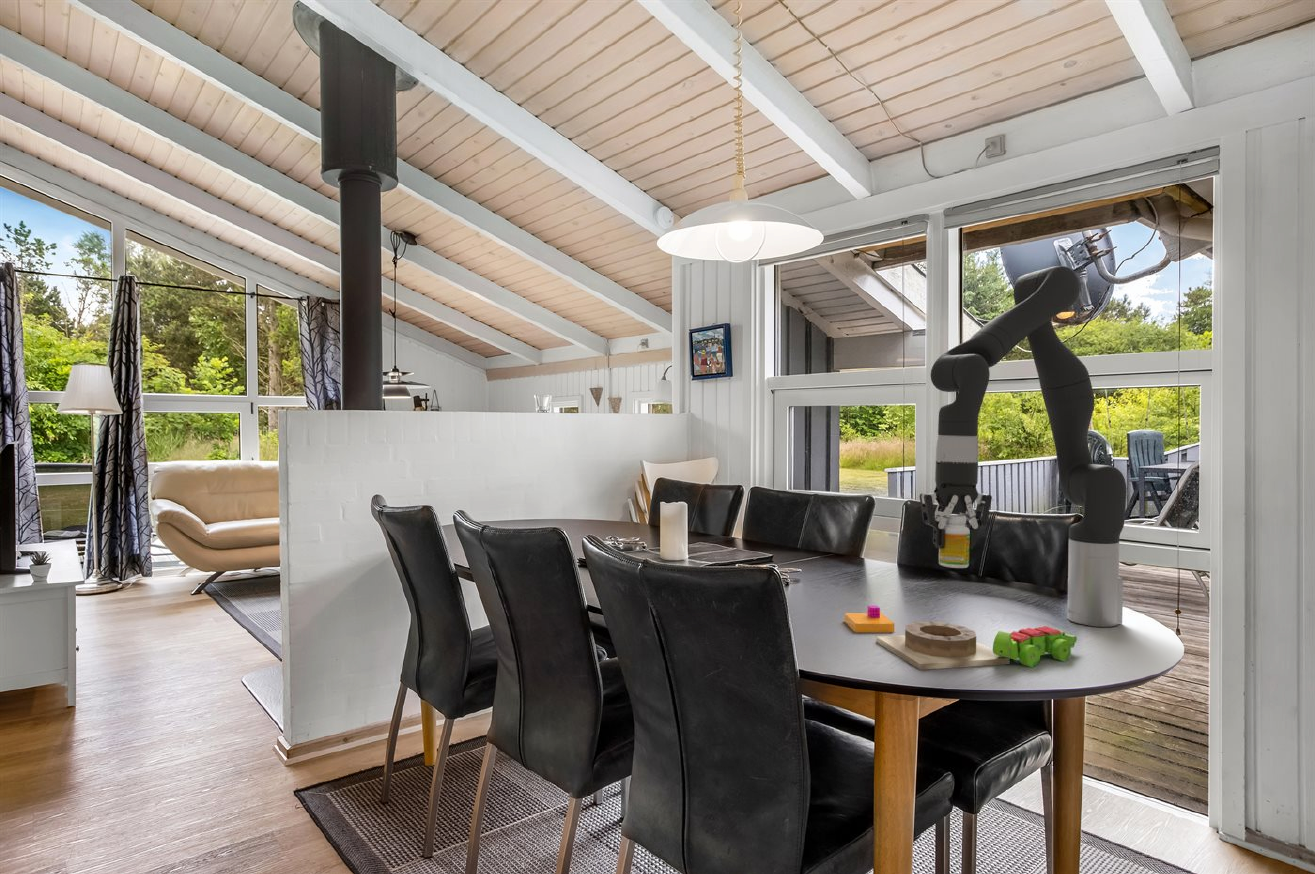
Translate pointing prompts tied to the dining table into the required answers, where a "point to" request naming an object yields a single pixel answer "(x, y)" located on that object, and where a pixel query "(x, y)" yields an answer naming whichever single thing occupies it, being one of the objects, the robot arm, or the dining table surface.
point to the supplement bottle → (955, 543)
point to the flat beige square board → (932, 662)
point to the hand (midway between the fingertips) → (954, 547)
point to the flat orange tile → (869, 621)
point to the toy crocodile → (1033, 644)
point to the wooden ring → (940, 639)
